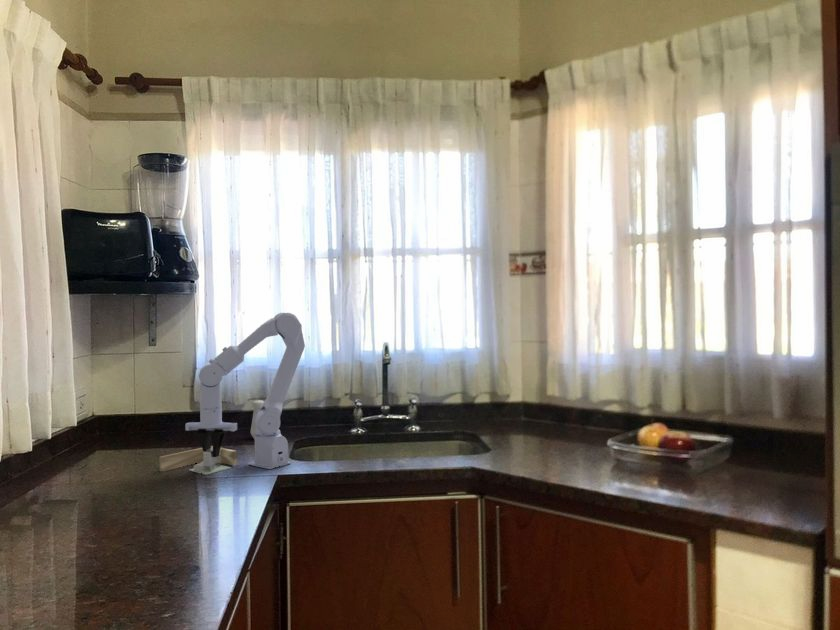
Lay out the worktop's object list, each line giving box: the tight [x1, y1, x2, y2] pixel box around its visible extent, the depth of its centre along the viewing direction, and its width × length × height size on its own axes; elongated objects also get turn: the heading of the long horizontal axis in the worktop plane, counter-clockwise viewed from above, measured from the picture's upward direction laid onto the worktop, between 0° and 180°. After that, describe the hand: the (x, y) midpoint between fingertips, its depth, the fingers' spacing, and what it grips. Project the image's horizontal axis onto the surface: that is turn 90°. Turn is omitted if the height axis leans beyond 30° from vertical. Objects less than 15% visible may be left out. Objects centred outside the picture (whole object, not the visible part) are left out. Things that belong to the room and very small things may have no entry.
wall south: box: [211, 445, 238, 466], centre depth 183 cm, size 12×1×4 cm, turn 52°
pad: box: [189, 464, 232, 476], centre depth 175 cm, size 8×8×1 cm
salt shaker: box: [250, 399, 265, 440], centre depth 217 cm, size 6×6×13 cm
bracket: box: [193, 447, 222, 472], centre depth 175 cm, size 6×5×6 cm
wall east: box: [158, 447, 203, 472], centre depth 180 cm, size 1×16×4 cm, turn 143°
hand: (211, 456), depth 175 cm, fingers closed on bracket
